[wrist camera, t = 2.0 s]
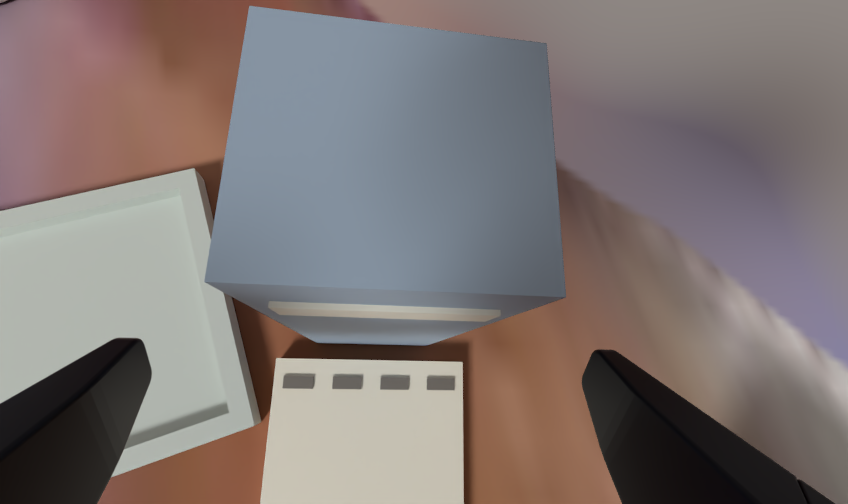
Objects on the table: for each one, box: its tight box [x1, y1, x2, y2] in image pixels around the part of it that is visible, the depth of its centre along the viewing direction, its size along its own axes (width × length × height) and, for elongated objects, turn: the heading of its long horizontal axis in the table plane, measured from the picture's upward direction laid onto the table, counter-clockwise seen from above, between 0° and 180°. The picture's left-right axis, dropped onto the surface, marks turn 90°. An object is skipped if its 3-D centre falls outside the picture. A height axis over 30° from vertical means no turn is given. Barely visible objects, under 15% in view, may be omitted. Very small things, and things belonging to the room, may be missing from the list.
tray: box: [0, 168, 261, 477], centre depth 17 cm, size 12×12×1 cm
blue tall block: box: [204, 6, 566, 346], centre depth 13 cm, size 5×5×14 cm
